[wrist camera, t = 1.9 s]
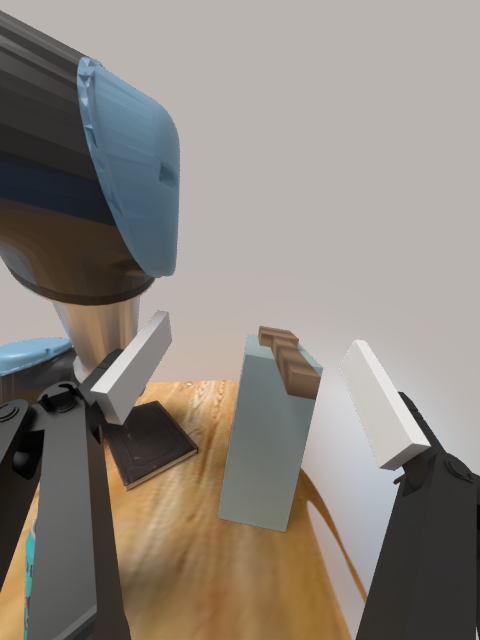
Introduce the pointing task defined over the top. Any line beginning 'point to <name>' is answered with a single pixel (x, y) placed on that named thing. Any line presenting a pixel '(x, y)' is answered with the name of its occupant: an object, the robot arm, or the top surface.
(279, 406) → the stand
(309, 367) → the brown tapered block
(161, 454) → the hardcover book
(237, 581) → the top surface
